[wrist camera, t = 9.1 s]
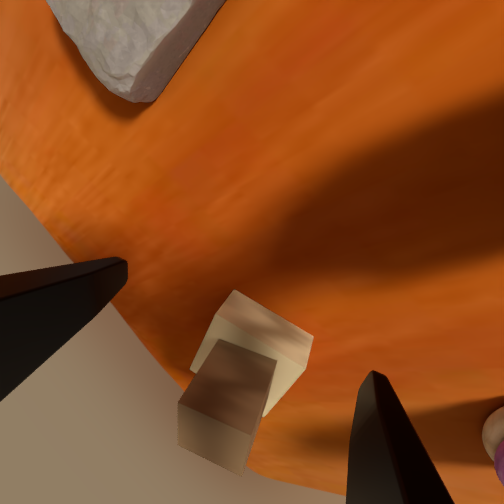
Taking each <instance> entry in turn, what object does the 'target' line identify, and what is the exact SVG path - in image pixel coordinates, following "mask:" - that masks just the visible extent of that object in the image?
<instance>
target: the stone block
mask: <svg viewBox="0 0 504 504" xmlns="http://www.w3.org/2000/svg"><path fill="white" fill-rule="evenodd" d="M225 1H226V0H46V2H47V3H48V4H49V5H50V7H51V9H52V11H53V13H54V15H55V16H56V18H57V19H58V21H59V23H60V25H61V27H62V29H63V31H64V32H65V33H66V34H67V35H68V36H69V37H70V38H71V39H72V41H73V42H74V43H75V44H76V46H77V47H78V49H79V52H80V53H81V55H82V57H83V59H84V60H85V61H86V63H87V64H88V66H89V67H90V69H91V70H92V72H93V73H94V74H95V76H96V77H97V78H98V80H99V81H100V82H101V83H102V84H103V85H105V87H106V88H107V89H108V90H109V91H111V92H112V93H114V94H116V95H118V96H120V97H122V98H124V99H126V100H128V101H131V102H133V103H137V102H152V101H154V100H155V99H156V98H157V97H158V96H159V95H160V94H161V93H162V91H163V90H164V88H165V87H166V85H167V84H168V82H169V81H170V80H171V78H172V77H173V75H174V74H175V72H176V71H177V69H178V68H179V66H180V65H181V64H182V62H183V61H184V59H185V58H186V57H187V55H188V53H189V52H190V50H191V49H192V48H193V46H194V45H195V44H196V42H197V41H198V39H199V38H200V36H201V35H202V33H203V32H204V31H205V29H206V28H207V27H208V25H209V23H210V22H211V20H212V18H213V17H214V15H215V14H216V12H217V10H218V9H219V8H220V7H221V6H222V5H223V4H224V2H225Z"/></svg>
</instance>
